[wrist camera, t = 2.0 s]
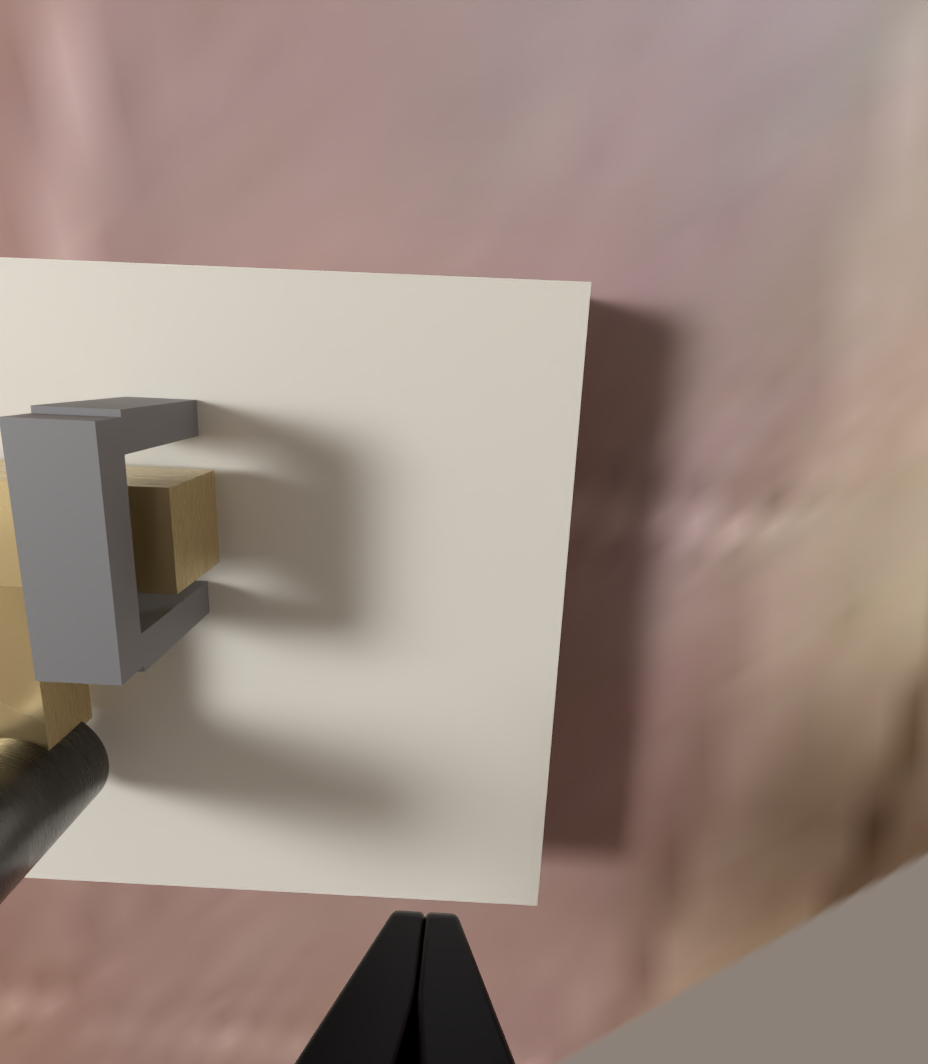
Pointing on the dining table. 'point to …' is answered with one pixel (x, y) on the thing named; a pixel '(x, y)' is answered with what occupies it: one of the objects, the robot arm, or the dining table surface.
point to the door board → (302, 566)
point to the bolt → (64, 708)
